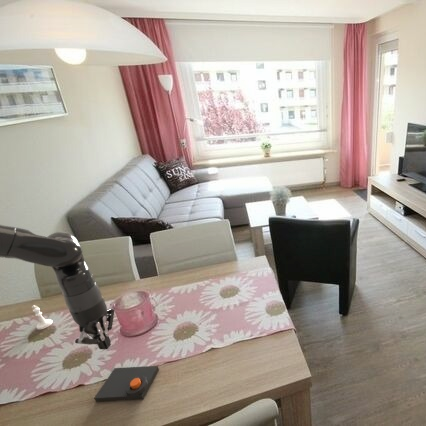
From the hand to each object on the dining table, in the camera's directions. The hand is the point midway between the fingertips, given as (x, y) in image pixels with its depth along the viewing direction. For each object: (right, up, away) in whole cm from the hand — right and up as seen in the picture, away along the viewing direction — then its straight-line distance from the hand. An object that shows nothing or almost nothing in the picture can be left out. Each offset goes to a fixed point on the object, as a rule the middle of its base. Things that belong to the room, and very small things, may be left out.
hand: (106, 347), depth 86 cm
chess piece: (-47, -5, +30) cm, 56 cm away
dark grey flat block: (+4, -14, +5) cm, 16 cm away
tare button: (+8, -12, +2) cm, 15 cm away
